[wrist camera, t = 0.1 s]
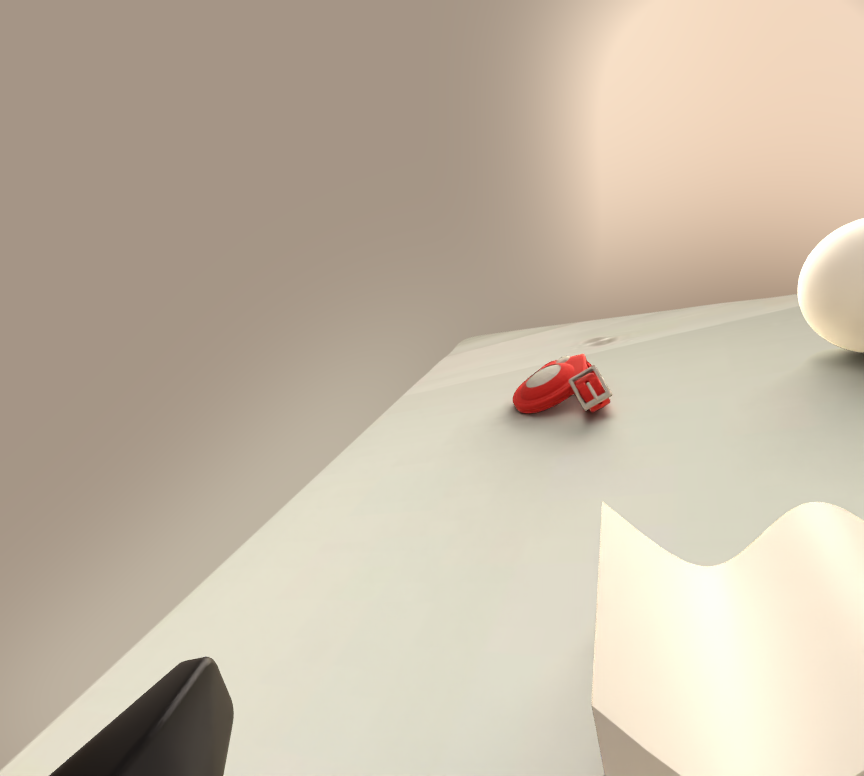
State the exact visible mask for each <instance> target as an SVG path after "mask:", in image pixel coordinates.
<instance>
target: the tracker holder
mask: <svg viewBox="0 0 864 776" xmlns="http://www.w3.org/2000/svg"><path fill="white" fill-rule="evenodd" d="M601 384H602V385H603V387H604V388H603V387H602V385H601ZM604 389H605V390H606V392H605V390H604ZM573 394H575V395H576V396H577V398H578V400H579V402H580V403H581V405H582V407H583V409H584V410H588V409H590V411H591V412H595V411H597V410H599V409H600V408H602V407H604V406H606V405H607V404H609V403H610V400H609V397H611V396H612V393H611V391H610V389H609V388H608V386H607V384H606V383H605V381H604V379H603V378H602V376H601V374H600V372H599V371H598V369H597V367H596V366H595V365H593V366H592V365H591V364H590V363H589V362H588V361H587V360H586V357H585V354H580V355H576V356H572V357H570V356H564V357H561V358H560V359H558V360H555V361H551V362H549V363H548V364H546V365H545V366H543V367H542V368H541V369H539V370H538V371H537V372H535V373H534V374H533V375H532V376H530V377H529V378H528V379H527V380H526V381H524V382H523V383H522V384H521V385H520V386H519V387H518V389H517V390H516V392H515V393H514V396H513V403H514V405H515V407H516V409H517V410H518V411H520V412H522V413H535V412H540V411H543V410H546V409H548V408H551V407H553V406H555V405H557V404H559V403H561V402H562V401H564V400H565V399H567V398H568V397H570V396H571V395H573ZM583 400H584V401H585V402H586V404H585V402H584V401H583Z"/></svg>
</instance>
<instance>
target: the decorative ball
mask: <svg viewBox="0 0 864 776" xmlns="http://www.w3.org/2000/svg"><path fill="white" fill-rule="evenodd" d="M798 300H799V305H800V308H801V311H802V313H803V316H804V318H805V319H806V321H807V322H808V324H809V325H810V326H811V328H812V329H813V330H814V331H815V332H816V333H817V334H818V335H820V336H821V337H822V338H823V339H825V340H826V341H828V342H830V343H832V344H833V345H836V346H838V347H840V348H843V349H846V350H849V351H854V352H859V353H864V218H863V219H859V220H857V221H854V222H851V223H849V224H846V225H844V226H842V227H841V228H839V229H837V230H835V231H834V232H832V233H831V234H830V235H828V236H827V237H826V238H824V239H823V240H822V241H821V242H820V243H819V244H818V245H817V246H816V247H815V248H814V250H813V251H812V252H811V254H810V255H809V256H808V258H807V260H806V262H805V263H804V266H803V268H802V270H801V273H800V277H799V282H798Z"/></svg>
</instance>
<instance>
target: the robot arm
mask: <svg viewBox="0 0 864 776" xmlns="http://www.w3.org/2000/svg"><path fill="white" fill-rule="evenodd" d="M233 715H234V712H233V704H232V700H231V697H230V695H229V693H228V690H227V688H226V686H225V683H224V681H223V678H222V676H221V674H220V671H219V669H218V666H217V664H216V663H215V661H214V660H213V659H212V658H209V657H203V658H198V659H192V660H187V661H183V662H181V663H180V664H178V665H177V666H176V667H175V668H173V669H172V670H171V671H170V672H169V673H168V674H167V675H165V676H164V677H163V678H162V679H161V680H160V681H158V682H157V683H156V684H155V685H154V686H153V687H151V688H150V689H149V690H148V691H147V692H146V693H144V694H143V695H142V696H141V697H140V698H139V699H138V700H136V701H135V702H134V703H133V704H132V705H131V706H129V707H128V708H127V709H126V710H125V711H124V712H122V713H121V714H120V715H119V716H118V717H117V718H115V719H114V720H113V721H112V722H111V723H110V724H109V725H107V726H106V727H105V728H104V729H103V730H102V731H100V732H99V733H98V734H97V735H96V736H95V737H93V738H92V739H91V740H90V741H89V742H88V743H86V744H85V745H84V746H83V747H82V748H81V749H80V750H78V751H77V752H76V753H75V754H74V755H73V756H71V757H70V758H69V759H68V760H67V761H66V762H64V763H63V764H62V765H61V766H60V767H59V768H57V769H56V770H55V771H54V772H53V773H52V774H51V775H49V776H223V774H224V769H225V763H226V758H227V752H228V746H229V741H230V735H231V730H232V724H233Z"/></svg>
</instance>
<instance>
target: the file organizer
mask: <svg viewBox="0 0 864 776" xmlns="http://www.w3.org/2000/svg"><path fill="white" fill-rule="evenodd" d="M592 710H593V715H594V721H595V726H596V731H597V736H598V742H599V747H600V752H601V757H602V763H603V768H604V773H605V776H864V521H863V520H862V519H860V518H858V517H857V516H855V515H853V514H852V513H850V512H849V511H847V510H845V509H842V508H840V507H838V506H835V505H833V504H828V503H822V502H812V503H804V504H802V505H800V506H798V507H796V508H793V509H791V510H790V511H788V512H787V513H786V514H784V515H783V516H781V517H780V518H779V519H777V520H776V521H775V522H774V523H773V524H772V525H771V526H770V527H769V528H768V529H767V530H765V531H764V532H763V533H762V534H761V535H760V536H759V537H758V538H757V539H756V540H755V541H753V542H752V543H751V544H750V545H749V546H748V547H747V548H745V549H744V550H743V551H742V552H741V553H739V554H738V555H737V556H735V557H734V558H733V559H731V560H729V561H727V562H725V563H723V564H719V565H716V566H698V565H693V564H691V563H688V562H685V561H683V560H682V559H680V558H678V557H676V556H674V555H673V554H671V553H669V552H667V551H666V550H664V549H663V548H661V547H660V546H658V545H657V544H656V543H654V542H653V541H652V540H650V539H649V538H648V537H646V536H645V535H644V534H642V533H641V532H639V531H638V530H637V529H636V528H634V527H633V526H632V525H631V524H630V523H628V522H627V521H626V520H625V519H623V518H622V517H621V516H620V515H619V514H617V513H616V512H615V511H614V510H613V509H611V508H610V507H609V506H608V505H607V504H605V503H604V502H603V501H602V517H601V535H600V554H599V573H598V592H597V611H596V630H595V649H594V668H593V687H592Z"/></svg>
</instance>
